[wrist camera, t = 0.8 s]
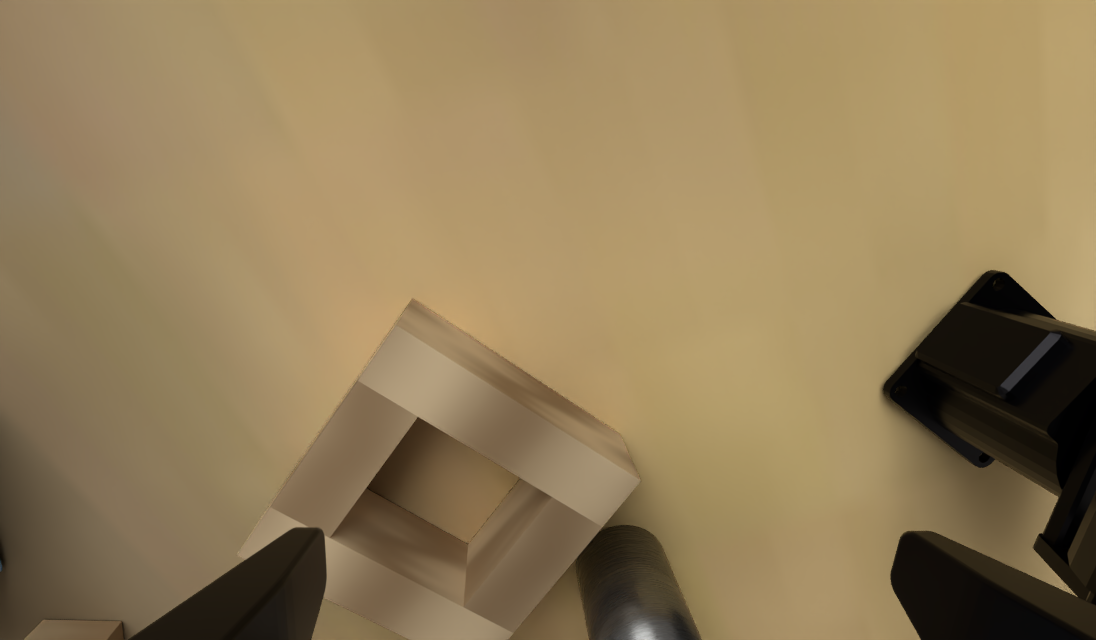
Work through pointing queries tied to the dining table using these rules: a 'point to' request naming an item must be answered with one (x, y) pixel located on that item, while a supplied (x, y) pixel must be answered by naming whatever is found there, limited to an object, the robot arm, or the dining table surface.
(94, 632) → the pin guide
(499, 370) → the dock block
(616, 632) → the black cylinder
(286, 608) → the robot arm
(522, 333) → the dining table surface
